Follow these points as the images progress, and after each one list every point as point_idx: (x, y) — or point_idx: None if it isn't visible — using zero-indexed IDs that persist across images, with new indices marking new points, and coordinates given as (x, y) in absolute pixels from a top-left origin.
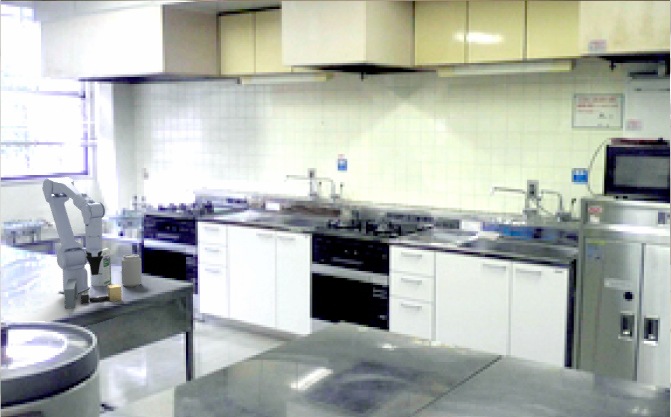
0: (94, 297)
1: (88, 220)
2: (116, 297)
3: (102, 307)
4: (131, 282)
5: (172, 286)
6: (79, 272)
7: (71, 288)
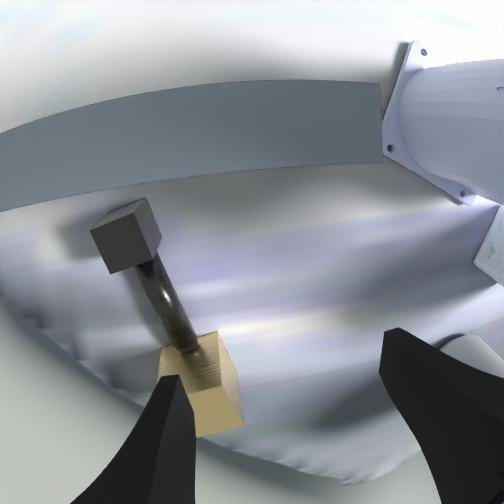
0: (150, 288)
1: None
2: None
3: (51, 325)
4: None
5: (367, 463)
6: (496, 181)
7: None
